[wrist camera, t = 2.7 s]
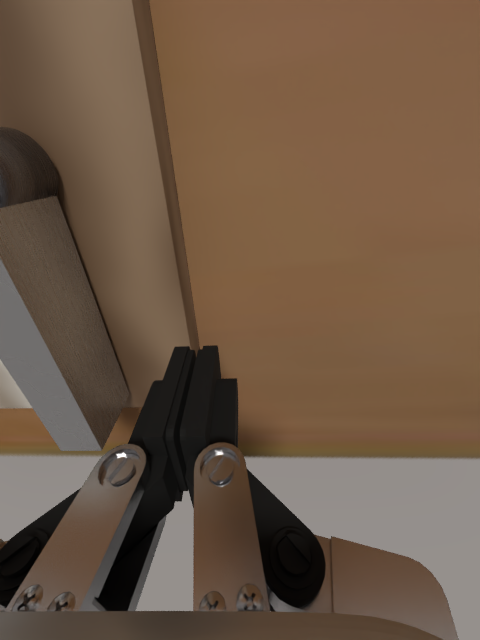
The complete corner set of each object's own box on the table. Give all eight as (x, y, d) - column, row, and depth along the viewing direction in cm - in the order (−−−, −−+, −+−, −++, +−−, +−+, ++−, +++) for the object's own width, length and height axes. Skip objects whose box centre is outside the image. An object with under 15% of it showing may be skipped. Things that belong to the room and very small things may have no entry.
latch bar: (-36, 129, 9) (-175, 116, 6) (40, 125, 9) (-64, 111, 6) (91, 394, 16) (55, 450, 13) (134, 394, 16) (108, 450, 13)
